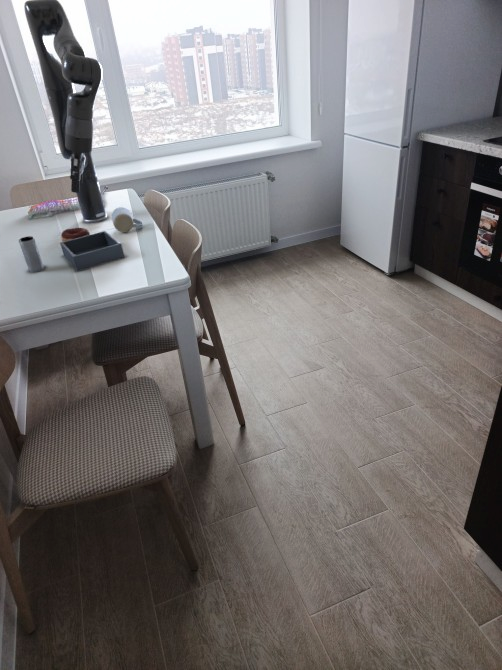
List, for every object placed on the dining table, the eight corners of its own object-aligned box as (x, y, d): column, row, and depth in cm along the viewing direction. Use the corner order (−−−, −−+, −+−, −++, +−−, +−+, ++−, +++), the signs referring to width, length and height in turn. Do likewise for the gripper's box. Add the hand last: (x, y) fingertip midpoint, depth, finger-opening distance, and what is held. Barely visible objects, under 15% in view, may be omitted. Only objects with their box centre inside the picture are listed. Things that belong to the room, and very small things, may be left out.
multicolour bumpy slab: (100, 200, 217) (97, 188, 214) (99, 209, 204) (96, 197, 202) (31, 209, 212) (28, 198, 209) (26, 219, 200) (22, 207, 197)
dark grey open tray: (63, 255, 160) (59, 242, 158) (108, 243, 167) (105, 230, 165) (77, 271, 148) (73, 256, 146) (124, 257, 155) (121, 243, 152)
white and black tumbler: (38, 272, 150) (28, 241, 144) (26, 272, 151) (15, 241, 145) (46, 266, 154) (36, 236, 148) (34, 266, 155) (24, 236, 149)
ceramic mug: (115, 235, 174) (111, 214, 170) (114, 228, 181) (109, 208, 177) (144, 230, 177) (140, 210, 173) (142, 223, 183) (138, 204, 179)
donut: (92, 242, 170) (89, 231, 168) (64, 248, 167) (61, 237, 165) (89, 233, 178) (86, 223, 176) (62, 239, 175) (59, 229, 173)
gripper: (68, 125, 143) (66, 179, 152) (62, 135, 132) (60, 192, 140) (94, 131, 145) (91, 183, 154) (90, 141, 134) (87, 197, 142)
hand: (76, 188), depth 147 cm, fingers open, 8 cm apart
